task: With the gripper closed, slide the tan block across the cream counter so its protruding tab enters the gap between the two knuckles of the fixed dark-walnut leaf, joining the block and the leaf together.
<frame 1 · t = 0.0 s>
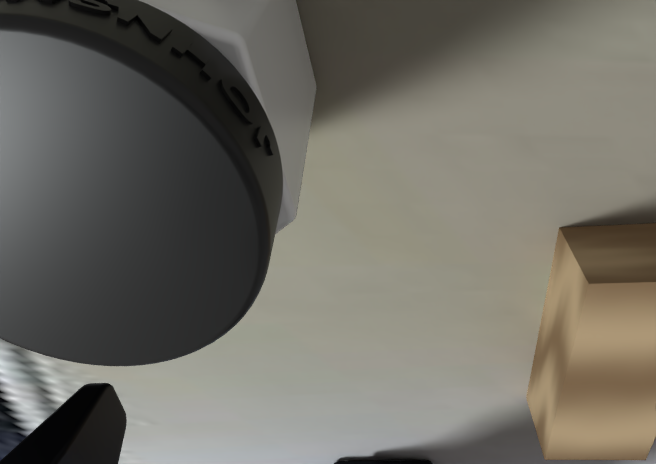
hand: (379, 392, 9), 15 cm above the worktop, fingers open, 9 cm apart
tan block: (590, 320, 28), on the worktop
jar: (205, 49, 21), on the worktop
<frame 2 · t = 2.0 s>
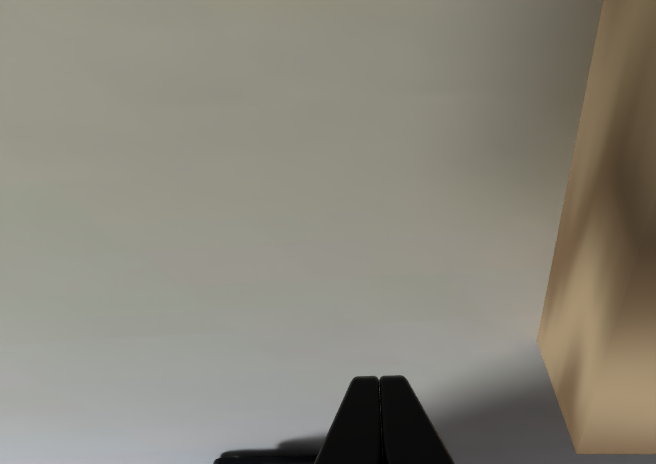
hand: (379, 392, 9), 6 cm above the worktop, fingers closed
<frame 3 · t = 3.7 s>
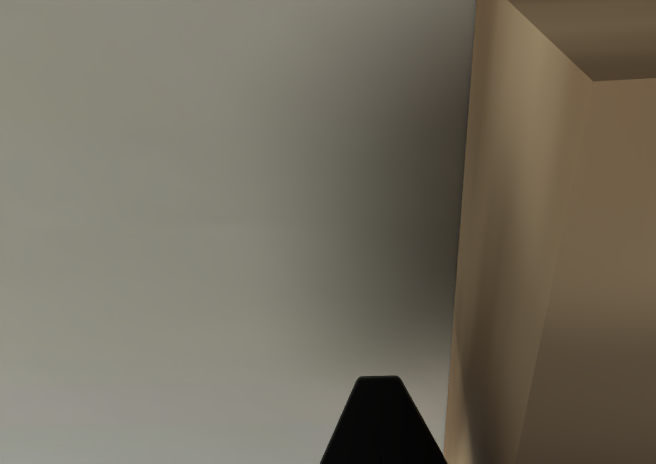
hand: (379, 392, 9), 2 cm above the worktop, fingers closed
tan block: (591, 319, 10), on the worktop, touching gripper
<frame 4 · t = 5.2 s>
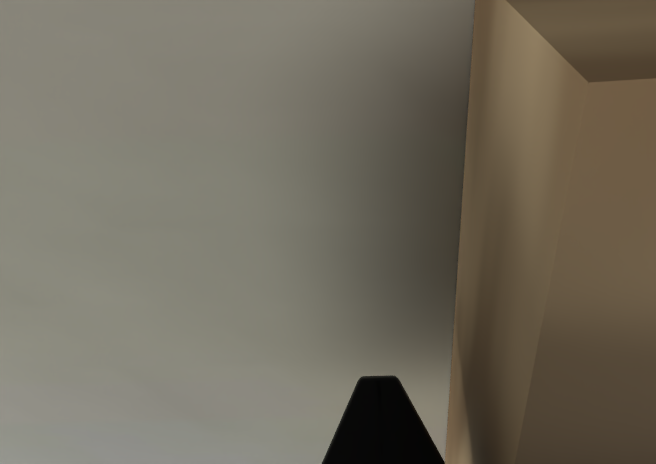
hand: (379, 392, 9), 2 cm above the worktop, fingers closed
tan block: (593, 320, 10), on the worktop, touching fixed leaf, gripper
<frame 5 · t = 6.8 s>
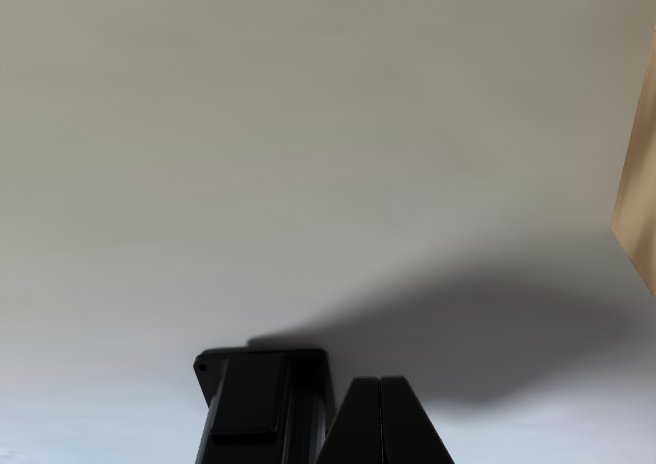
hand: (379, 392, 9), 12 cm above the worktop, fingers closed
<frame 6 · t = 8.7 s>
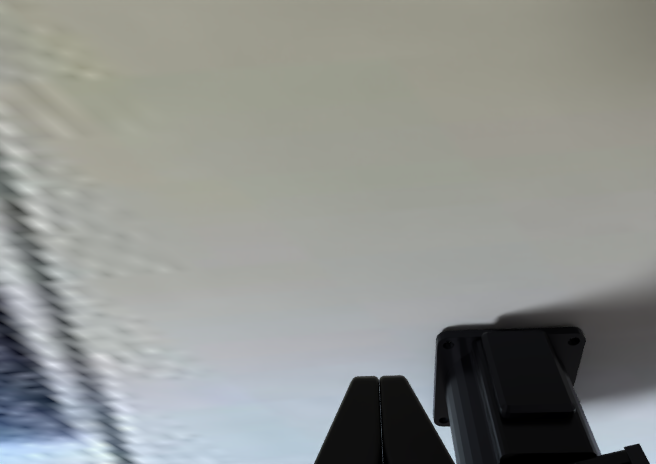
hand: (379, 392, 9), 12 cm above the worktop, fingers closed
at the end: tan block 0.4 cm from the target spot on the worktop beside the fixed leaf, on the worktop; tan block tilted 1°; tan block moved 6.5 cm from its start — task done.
